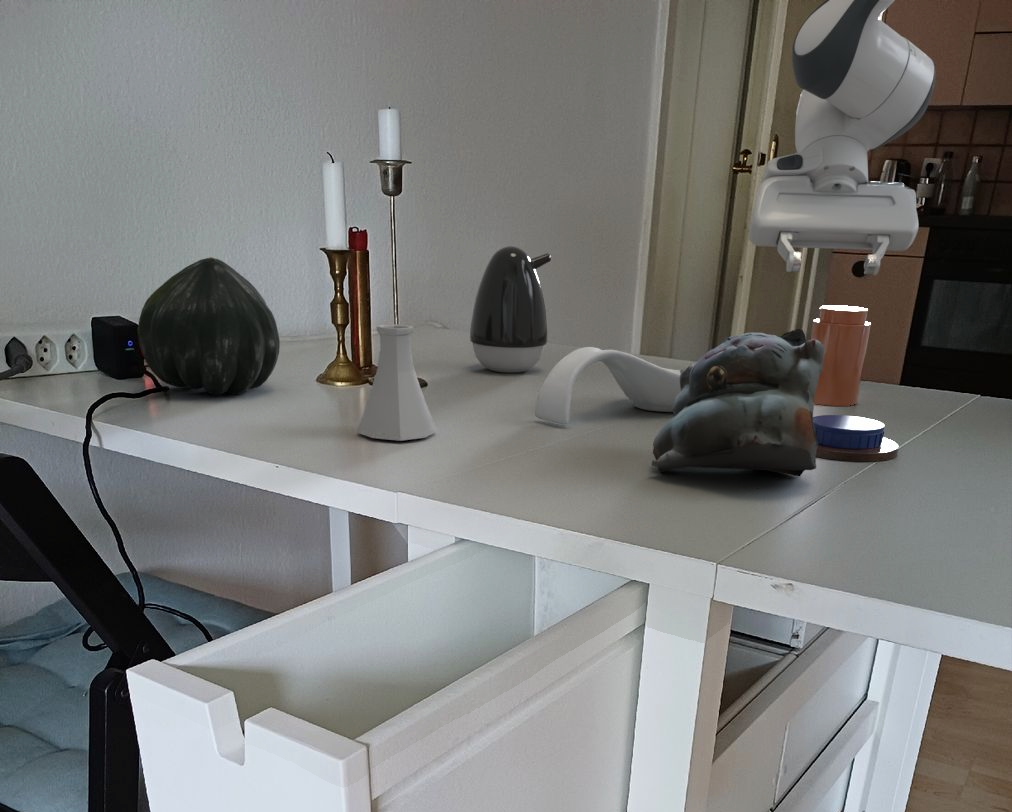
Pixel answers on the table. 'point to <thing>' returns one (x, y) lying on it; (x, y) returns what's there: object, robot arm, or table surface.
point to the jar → (841, 353)
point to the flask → (396, 392)
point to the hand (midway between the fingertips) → (833, 270)
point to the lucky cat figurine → (746, 407)
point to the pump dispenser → (510, 312)
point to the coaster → (859, 452)
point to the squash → (209, 330)
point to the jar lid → (848, 431)
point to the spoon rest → (632, 374)
